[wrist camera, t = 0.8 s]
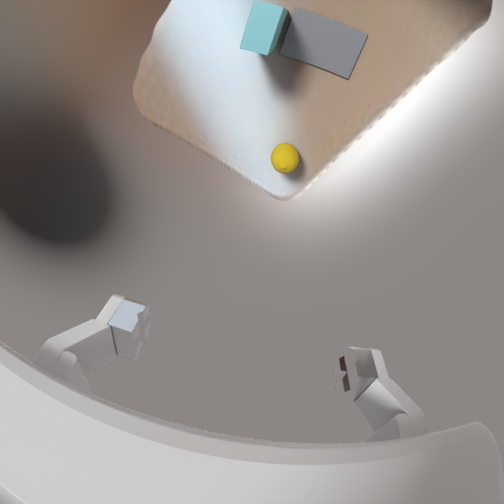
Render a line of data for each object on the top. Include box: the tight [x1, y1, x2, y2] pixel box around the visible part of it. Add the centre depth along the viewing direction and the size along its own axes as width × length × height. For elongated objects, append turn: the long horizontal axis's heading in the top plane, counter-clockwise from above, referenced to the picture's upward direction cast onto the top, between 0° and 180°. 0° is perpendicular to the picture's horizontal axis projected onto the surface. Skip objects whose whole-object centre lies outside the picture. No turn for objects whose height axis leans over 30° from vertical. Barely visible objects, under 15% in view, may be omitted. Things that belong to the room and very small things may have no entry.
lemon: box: [271, 143, 299, 173], centre depth 51 cm, size 6×6×8 cm
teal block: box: [240, 1, 288, 55], centre depth 30 cm, size 4×8×12 cm, turn 166°
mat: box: [280, 8, 367, 79], centre depth 35 cm, size 13×10×1 cm
